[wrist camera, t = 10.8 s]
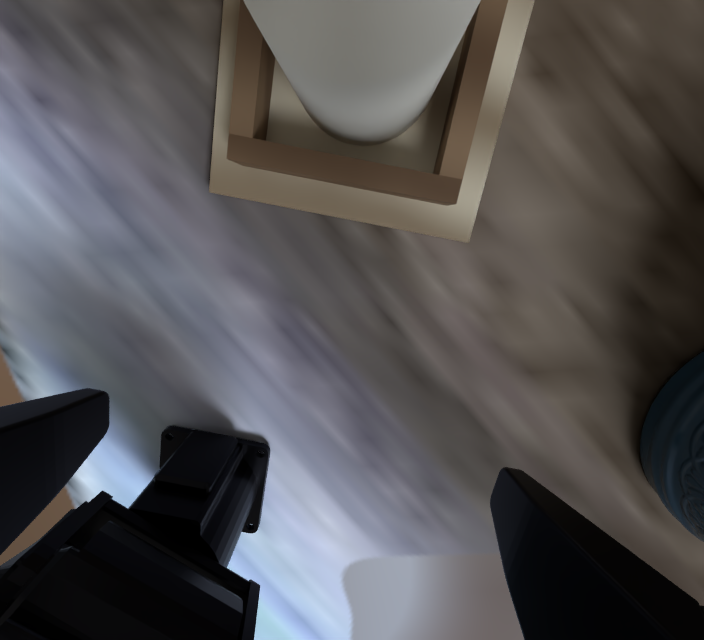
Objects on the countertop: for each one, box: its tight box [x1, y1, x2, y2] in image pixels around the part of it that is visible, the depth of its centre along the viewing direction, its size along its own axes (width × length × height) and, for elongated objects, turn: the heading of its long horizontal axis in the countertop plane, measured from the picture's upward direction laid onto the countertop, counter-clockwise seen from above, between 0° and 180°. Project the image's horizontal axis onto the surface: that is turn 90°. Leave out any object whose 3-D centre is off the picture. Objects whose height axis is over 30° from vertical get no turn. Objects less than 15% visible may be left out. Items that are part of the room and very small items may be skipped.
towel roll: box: [244, 0, 481, 146], centre depth 12 cm, size 6×6×8 cm
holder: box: [209, 0, 534, 243], centre depth 15 cm, size 13×13×3 cm
